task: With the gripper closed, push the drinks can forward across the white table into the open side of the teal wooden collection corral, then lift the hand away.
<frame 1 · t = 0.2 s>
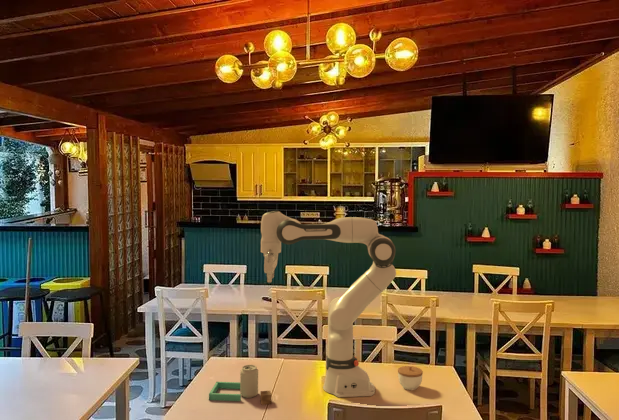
hand: (270, 280, 218), 47 cm above the table, tool pointing down, fingers open, 8 cm apart
can: (249, 395, 211), on the table
walnut block: (265, 402, 204), on the table
lidded jar: (409, 387, 221), on the table
corral: (228, 394, 212), on the table
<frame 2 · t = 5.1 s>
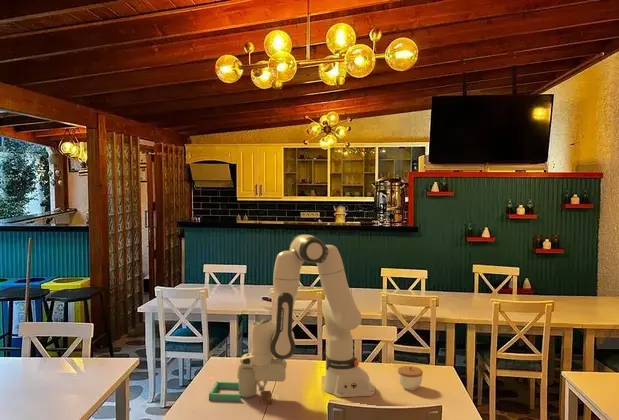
hand: (261, 390, 211), 2 cm above the table, tool pointing down, fingers closed
can: (247, 395, 211), on the table, touching gripper
everything else where it was.
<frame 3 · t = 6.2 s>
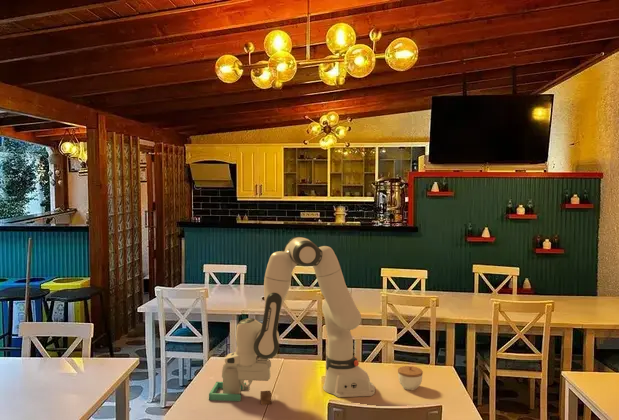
hand: (246, 389, 211), 2 cm above the table, tool pointing down, fingers closed
can: (231, 394, 212), on the table, touching gripper
everything else where it was.
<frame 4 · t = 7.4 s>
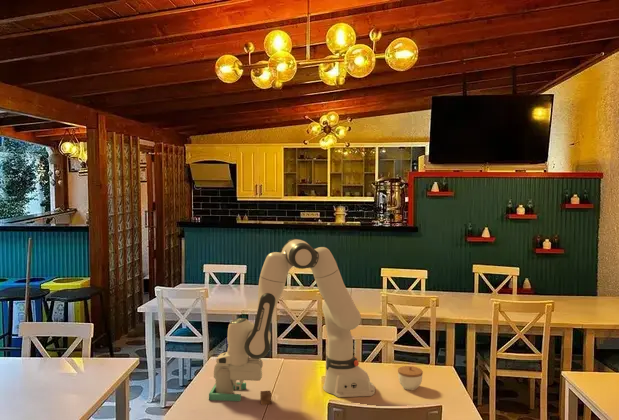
hand: (238, 389, 211), 2 cm above the table, tool pointing down, fingers closed
can: (224, 393, 212), on the table, touching gripper
everything else where it was.
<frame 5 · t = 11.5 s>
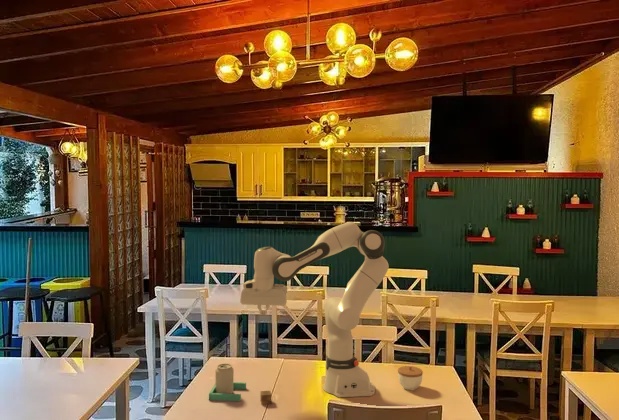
hand: (263, 314, 221), 31 cm above the table, tool pointing down, fingers closed
can: (224, 393, 212), on the table
everything else where it was.
at the end: can inside the target area on the corral (1.1 cm from its centre), point 0.0 cm above the corral's base; can tilted 0° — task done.
